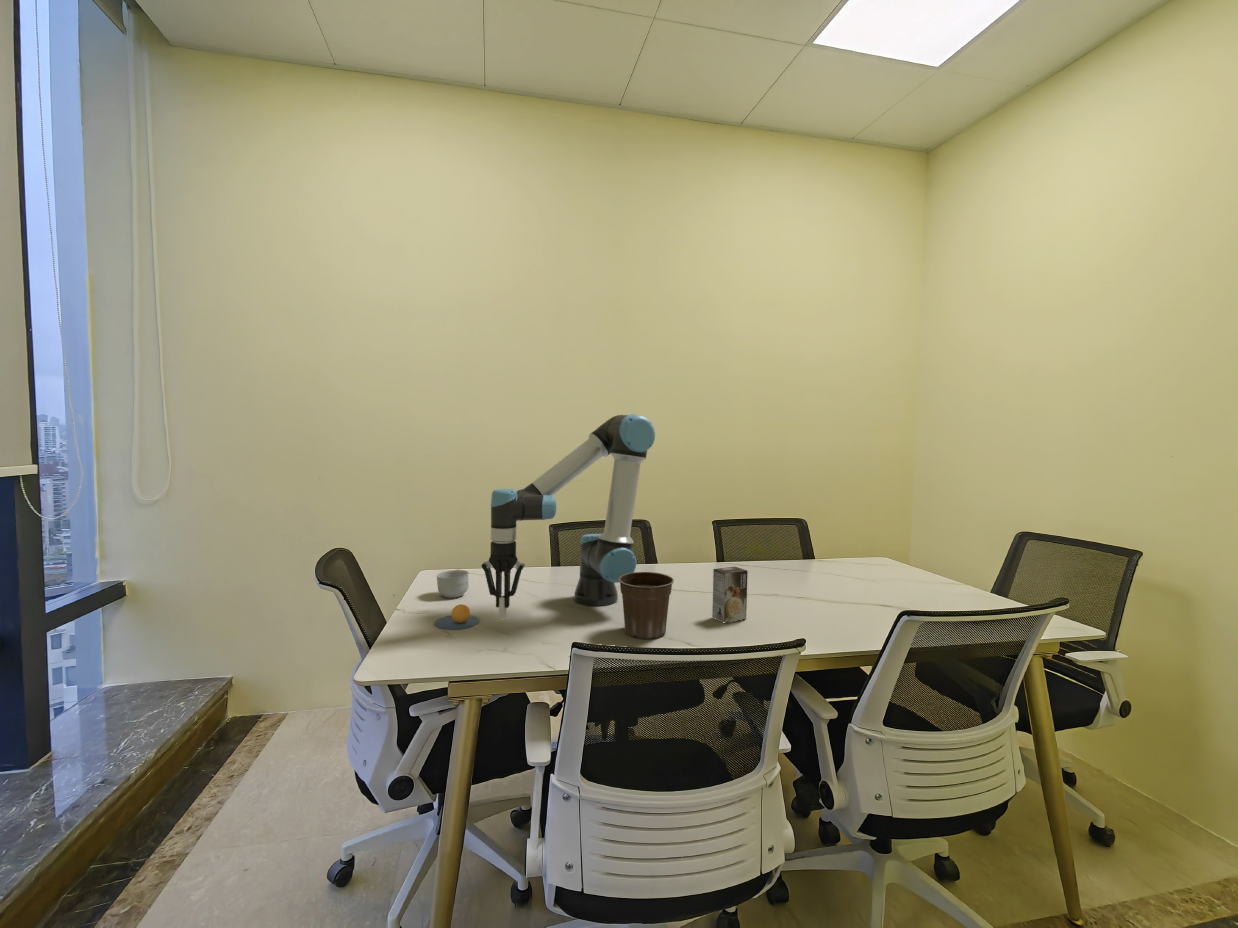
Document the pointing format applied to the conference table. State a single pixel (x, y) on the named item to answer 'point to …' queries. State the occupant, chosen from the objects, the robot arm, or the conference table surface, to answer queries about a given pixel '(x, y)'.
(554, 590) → the conference table surface
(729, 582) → the coffee box
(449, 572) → the teacup
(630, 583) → the plant pot
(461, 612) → the ball
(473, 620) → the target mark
